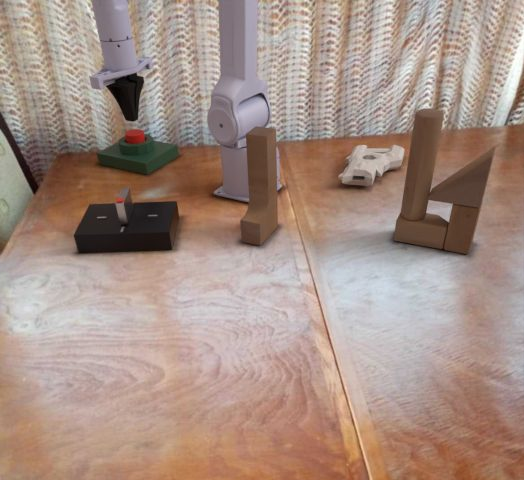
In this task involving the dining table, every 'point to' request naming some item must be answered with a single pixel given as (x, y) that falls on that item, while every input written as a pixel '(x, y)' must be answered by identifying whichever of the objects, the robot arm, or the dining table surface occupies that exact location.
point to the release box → (138, 155)
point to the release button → (135, 136)
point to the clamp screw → (124, 206)
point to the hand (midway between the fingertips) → (131, 120)
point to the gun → (370, 164)
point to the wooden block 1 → (261, 186)
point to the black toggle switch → (128, 228)
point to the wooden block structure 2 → (440, 192)
